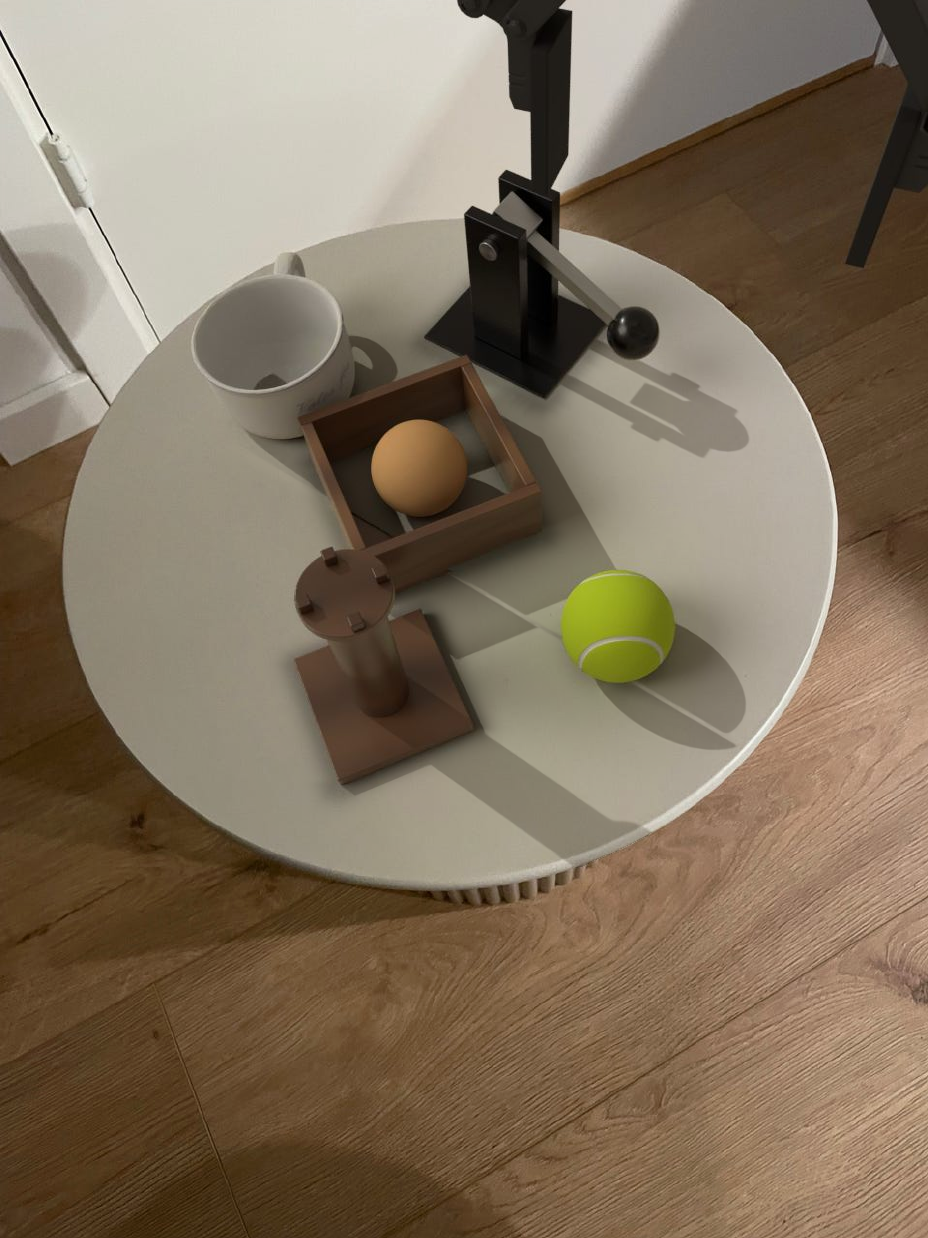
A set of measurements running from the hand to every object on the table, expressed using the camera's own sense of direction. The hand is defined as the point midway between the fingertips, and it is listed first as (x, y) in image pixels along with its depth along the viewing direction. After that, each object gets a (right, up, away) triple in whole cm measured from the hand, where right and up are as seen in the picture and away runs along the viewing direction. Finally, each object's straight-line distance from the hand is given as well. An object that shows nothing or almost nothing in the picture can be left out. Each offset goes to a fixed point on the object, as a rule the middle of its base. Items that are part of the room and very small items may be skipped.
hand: (699, 207), depth 43 cm
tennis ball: (0, -20, +23) cm, 30 cm away
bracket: (-6, +4, +35) cm, 36 cm away
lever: (-3, +5, +27) cm, 28 cm away
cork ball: (-13, -7, +25) cm, 29 cm away
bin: (-13, -9, +29) cm, 33 cm away
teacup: (-23, 0, +34) cm, 41 cm away
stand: (-15, -23, +22) cm, 35 cm away
